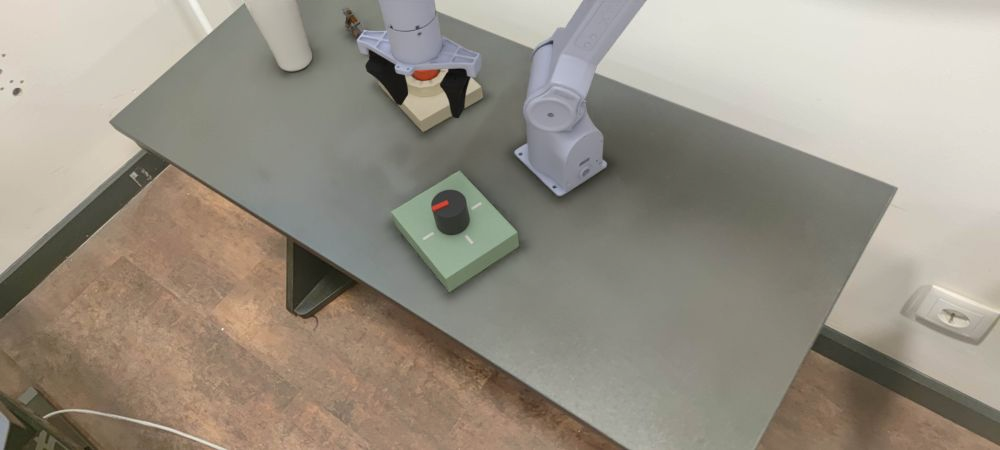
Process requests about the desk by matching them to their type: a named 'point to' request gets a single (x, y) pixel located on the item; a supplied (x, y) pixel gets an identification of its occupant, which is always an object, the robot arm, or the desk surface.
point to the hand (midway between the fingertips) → (430, 105)
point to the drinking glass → (282, 31)
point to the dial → (450, 212)
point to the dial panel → (463, 251)
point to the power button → (425, 74)
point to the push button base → (432, 100)
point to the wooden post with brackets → (352, 19)
